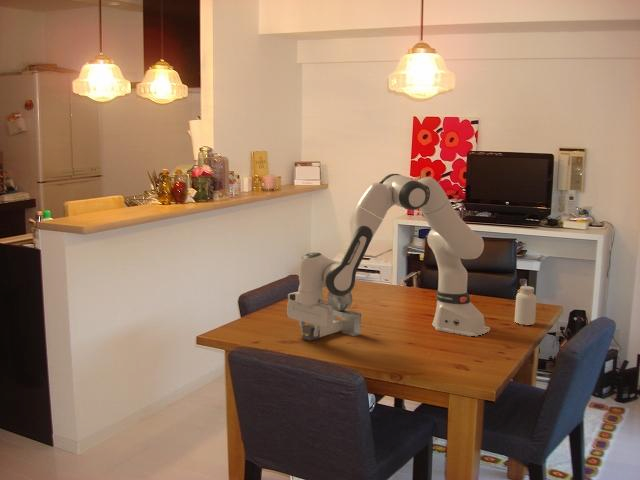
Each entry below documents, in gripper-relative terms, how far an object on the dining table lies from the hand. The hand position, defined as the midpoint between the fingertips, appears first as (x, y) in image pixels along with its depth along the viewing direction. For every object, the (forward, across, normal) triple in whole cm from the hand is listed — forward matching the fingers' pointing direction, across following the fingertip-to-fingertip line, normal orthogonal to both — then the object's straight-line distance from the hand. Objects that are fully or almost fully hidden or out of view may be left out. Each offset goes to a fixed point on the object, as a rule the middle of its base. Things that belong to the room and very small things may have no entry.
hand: (309, 334), depth 263 cm
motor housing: (+2, 0, -16) cm, 17 cm away
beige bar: (+2, 0, -7) cm, 7 cm away
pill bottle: (+2, -46, -78) cm, 90 cm away
